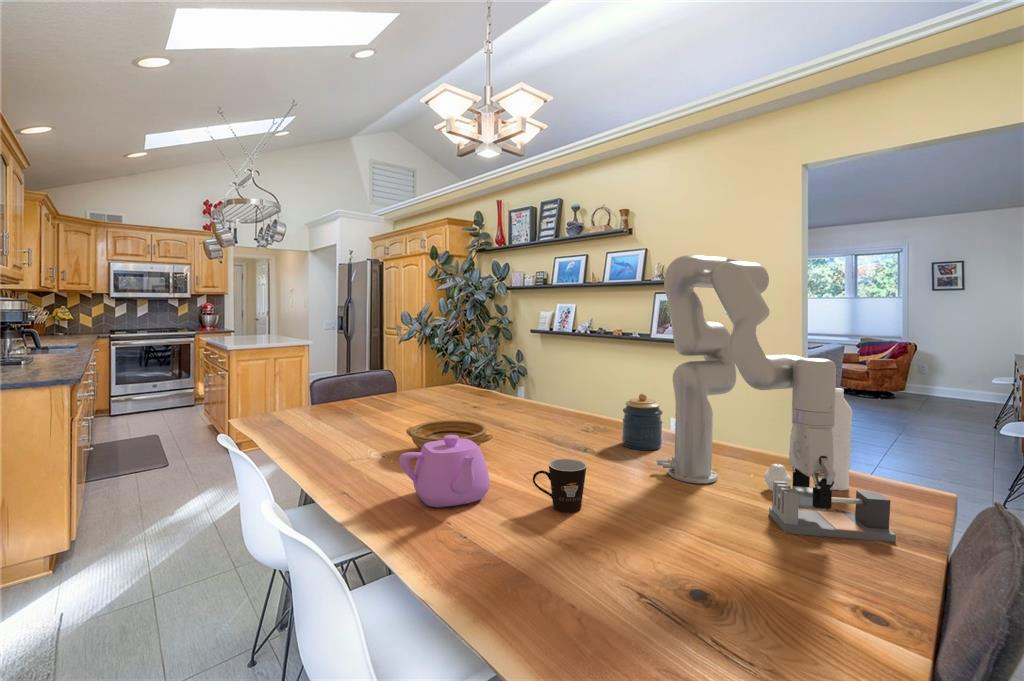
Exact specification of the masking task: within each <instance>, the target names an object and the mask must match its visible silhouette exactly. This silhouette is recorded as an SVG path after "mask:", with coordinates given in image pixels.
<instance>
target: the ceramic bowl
mask: <svg viewBox="0 0 1024 681" xmlns="http://www.w3.org/2000/svg"><path fill="white" fill-rule="evenodd" d="M487 431H488V427H487V426H486V425H485V424H482V423H480V422H476V421H470V420H464V419H463V420H461V419H444V420H442V419H441V420H434V421H433V420H432V421H428V422H423V423H420V424H417V425H415V426H410V427H408V428H407V429H406V434H407V435H408V436H409V437H410V438H411V440H412V443H413V444H414V445H415V446H416V447H417V448H418V449H420V450H421V449H422V447H423V445H424V444H425V443H428V442H433V441H438V440H444V439H443V437H444V436H446V435H457V436H459V438H458V439H469V440H471V441H473V442H474V443H476V444H477V445H478V446H479V447H480V446H481V444H484V443H488V442H490V441H491V440H492V439H493V438H494V435H493V434H492V433H490V434H487ZM486 434H487V435H486Z"/></svg>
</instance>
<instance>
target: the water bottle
mask: <svg viewBox="0 0 1024 681" xmlns="http://www.w3.org/2000/svg"><path fill="white" fill-rule="evenodd" d="M844 392H845V389H844V388H841V387H836V389H835V427H834V428H832V436H833V453H834V464H833V470H834V471H835V478H834V484H833V490H832V491H840V492H841V491H847V490H849V489H850V468H851V465H850V464H851V447H852V427H853V426H852V425H853V421H852V420H853V410H852V406H850V404H849V403H848V402H847V400H846V399H845V397H844V396H845V394H844ZM818 473H821V472H818ZM818 479H819V482H820V481H821V479H822V478H818Z"/></svg>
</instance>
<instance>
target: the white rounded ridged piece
mask: <svg viewBox="0 0 1024 681" xmlns="http://www.w3.org/2000/svg"><path fill="white" fill-rule="evenodd" d="M763 478H764V481H765V483H766V485H767V487H768V488H769V489H768V490H769V491H771V492H773V481H784V482H786V483H787V485H790V486H791V483H792V482H793V477H792V476H791V475H790V474H789V472H788V471H787V467H785V465H783V464H780V463H772V464H771V465H769V468H768V470H766V471H765V472H764V473H763Z"/></svg>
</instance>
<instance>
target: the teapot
mask: <svg viewBox="0 0 1024 681" xmlns="http://www.w3.org/2000/svg"><path fill="white" fill-rule="evenodd" d="M458 438H459V436H457V435H446V436H444V437H443V439H444V440H438V441H433V442H428V443H425V444H424V445H423V447H422V449H420V451H419V452H417V451H410V452H409V451H407V452H403V453H401V454H400V455H399V458H398V462H399V465H400V468H401V469H402V471H403V472H404V473H405V475H407V477H409V479H411V480H412V484H413V487H414V490H415V492H416V494H417V495H418V497H419V498H420V501H422V502H423V504H425V506H428V507H433V508H441V509H442V508H446V507H452V506H453V507H454V506H461V505H466V504H469V503H474V502H476V501H479V500H481V499H484V498H485V496H486V494H487V493H488V491H489V489H490V486H491V485H490V475H489V469H488V466H487V462H486V460H485V456H484V454H483V453H482V451H481V448H480V445H479V446H478V445H477V444H476V443H474V442H473V441H471V440H469V439H458ZM412 459H416V462H415V466H414V471H413V469H412V467H411V463H410V462H411V460H412Z"/></svg>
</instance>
